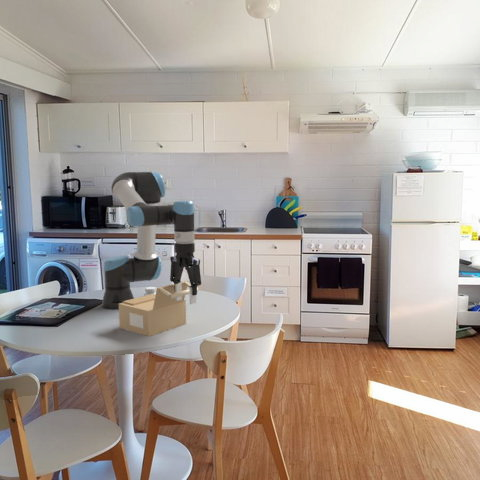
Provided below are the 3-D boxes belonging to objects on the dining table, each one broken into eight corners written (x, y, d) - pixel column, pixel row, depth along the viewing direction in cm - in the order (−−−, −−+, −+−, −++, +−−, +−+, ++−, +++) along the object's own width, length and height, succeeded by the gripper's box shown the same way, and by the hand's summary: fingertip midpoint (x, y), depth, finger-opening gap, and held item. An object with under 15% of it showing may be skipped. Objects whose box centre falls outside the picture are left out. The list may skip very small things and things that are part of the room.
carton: (119, 327, 187) (118, 302, 186) (157, 316, 203) (156, 292, 201) (148, 336, 176) (147, 309, 175) (186, 323, 192) (185, 298, 190)
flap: (157, 287, 173) (170, 295, 169) (187, 279, 186) (200, 287, 181) (152, 309, 176) (165, 318, 172) (182, 300, 188) (195, 309, 184)
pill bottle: (161, 312, 209) (160, 287, 208) (153, 315, 204) (152, 290, 202) (149, 310, 212) (148, 285, 211) (141, 314, 206) (140, 288, 205)
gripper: (159, 241, 176) (160, 299, 179) (196, 245, 164) (197, 308, 167) (173, 239, 182) (174, 295, 185) (210, 243, 170) (211, 303, 173)
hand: (185, 301), depth 176 cm, fingers open, 7 cm apart
